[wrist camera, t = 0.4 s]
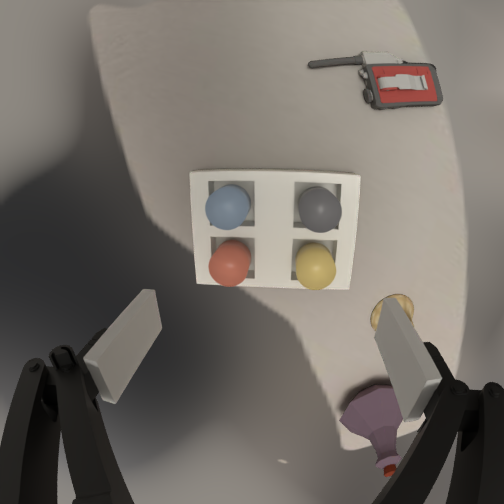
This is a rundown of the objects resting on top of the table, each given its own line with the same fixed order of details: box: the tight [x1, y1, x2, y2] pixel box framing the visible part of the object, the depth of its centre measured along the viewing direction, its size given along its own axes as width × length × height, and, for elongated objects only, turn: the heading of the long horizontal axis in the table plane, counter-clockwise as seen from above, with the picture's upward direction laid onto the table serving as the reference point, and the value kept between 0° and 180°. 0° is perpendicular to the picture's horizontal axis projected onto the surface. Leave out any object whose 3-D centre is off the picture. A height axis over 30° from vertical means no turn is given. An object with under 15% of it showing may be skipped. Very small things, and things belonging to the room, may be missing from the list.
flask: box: [339, 385, 403, 477], centre depth 42 cm, size 16×16×20 cm
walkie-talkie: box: [308, 51, 443, 110], centre depth 30 cm, size 9×4×20 cm
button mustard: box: [295, 242, 336, 290], centre depth 36 cm, size 5×5×4 cm
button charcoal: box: [298, 186, 342, 233], centre depth 34 cm, size 5×5×4 cm
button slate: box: [205, 184, 251, 230], centre depth 35 cm, size 5×5×4 cm
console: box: [190, 169, 361, 290], centre depth 39 cm, size 16×22×4 cm
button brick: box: [208, 240, 251, 287], centre depth 38 cm, size 5×5×4 cm
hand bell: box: [371, 294, 414, 331], centre depth 37 cm, size 8×8×16 cm
